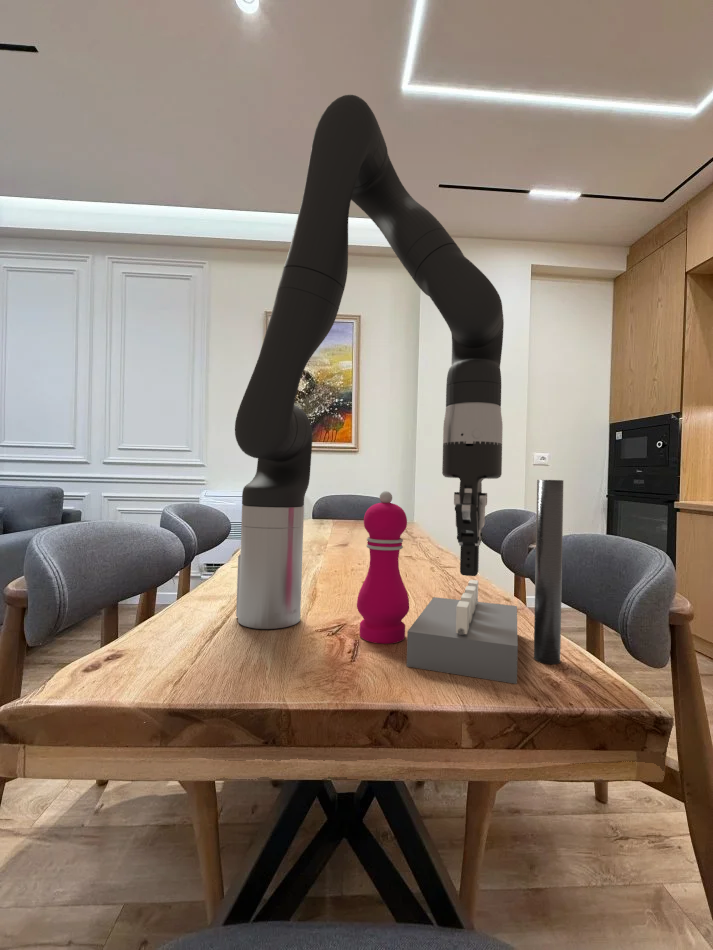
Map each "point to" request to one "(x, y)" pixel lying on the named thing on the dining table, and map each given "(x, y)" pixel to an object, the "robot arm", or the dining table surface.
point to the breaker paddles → (466, 607)
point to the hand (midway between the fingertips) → (469, 574)
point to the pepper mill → (383, 575)
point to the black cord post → (548, 571)
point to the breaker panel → (465, 641)
